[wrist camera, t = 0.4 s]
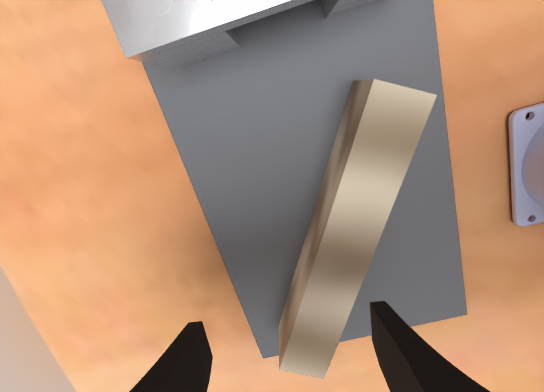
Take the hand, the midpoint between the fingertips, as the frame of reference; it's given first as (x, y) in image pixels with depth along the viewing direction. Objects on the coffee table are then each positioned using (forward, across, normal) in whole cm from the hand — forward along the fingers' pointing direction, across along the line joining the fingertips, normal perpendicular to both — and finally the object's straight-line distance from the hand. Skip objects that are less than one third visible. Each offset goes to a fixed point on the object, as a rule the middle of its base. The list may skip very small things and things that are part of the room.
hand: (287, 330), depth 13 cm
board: (+9, -3, -4) cm, 11 cm away
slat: (+8, -3, 0) cm, 9 cm away
